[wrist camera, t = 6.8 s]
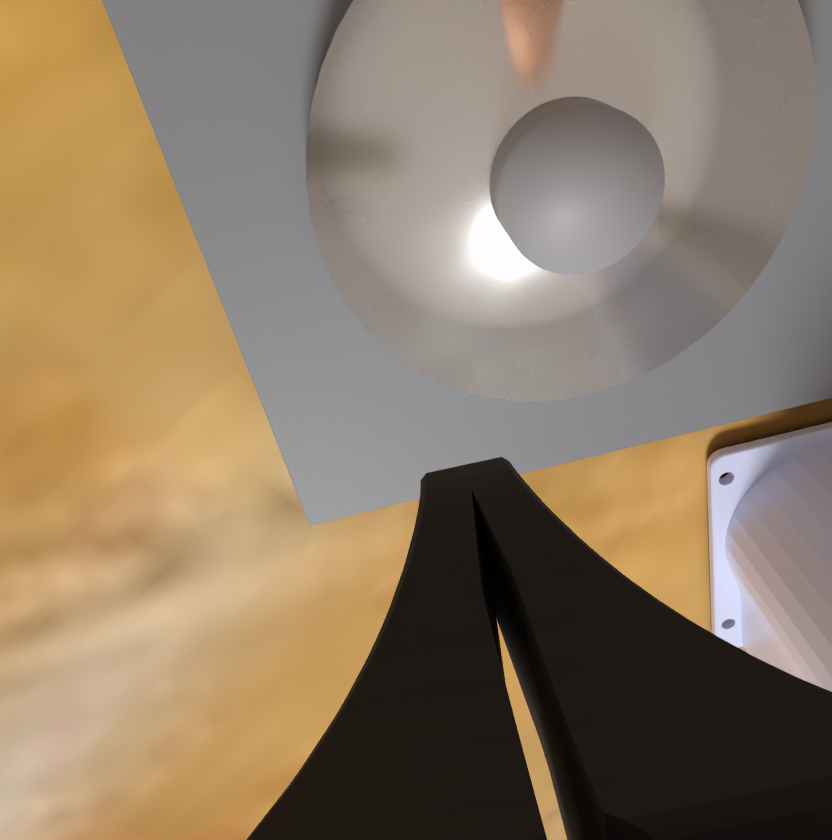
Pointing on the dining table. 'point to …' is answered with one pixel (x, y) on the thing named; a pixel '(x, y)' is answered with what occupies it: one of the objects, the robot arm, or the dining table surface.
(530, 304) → the flange plate
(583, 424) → the turntable base
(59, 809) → the dining table surface
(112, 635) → the dining table surface
